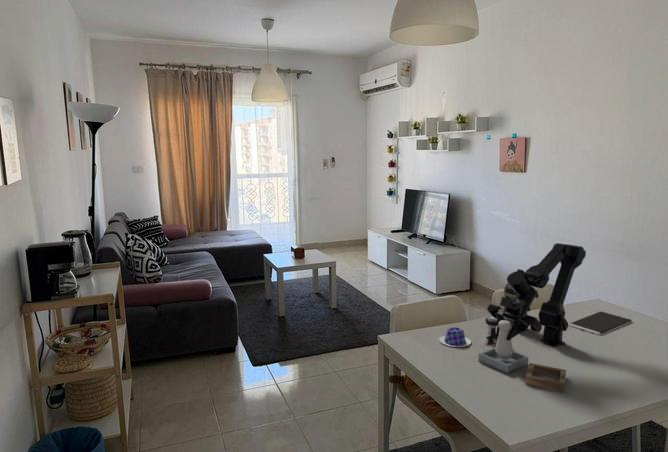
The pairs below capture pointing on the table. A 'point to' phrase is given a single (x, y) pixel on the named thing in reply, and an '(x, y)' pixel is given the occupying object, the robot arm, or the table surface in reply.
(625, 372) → the table surface
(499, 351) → the salt shaker
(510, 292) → the coffee jar
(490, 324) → the push button
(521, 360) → the grey tray
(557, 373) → the walnut socket
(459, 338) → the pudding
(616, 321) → the dark flat slab
